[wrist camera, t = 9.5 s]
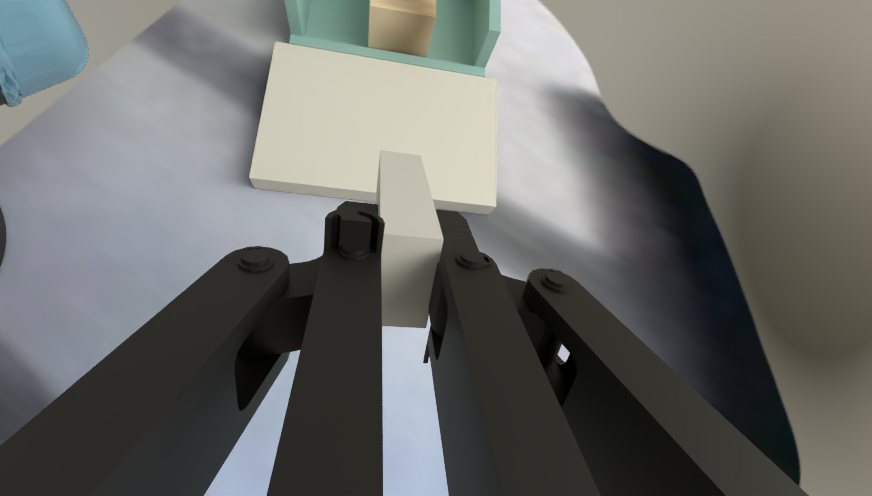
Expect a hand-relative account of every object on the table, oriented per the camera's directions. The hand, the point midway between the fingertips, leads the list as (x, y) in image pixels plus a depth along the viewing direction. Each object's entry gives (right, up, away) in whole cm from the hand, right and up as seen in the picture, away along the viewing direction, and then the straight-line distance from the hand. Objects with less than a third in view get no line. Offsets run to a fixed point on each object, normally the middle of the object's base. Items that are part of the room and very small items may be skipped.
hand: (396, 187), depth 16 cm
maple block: (-2, +17, +21) cm, 27 cm away
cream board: (-3, +8, +21) cm, 23 cm away
